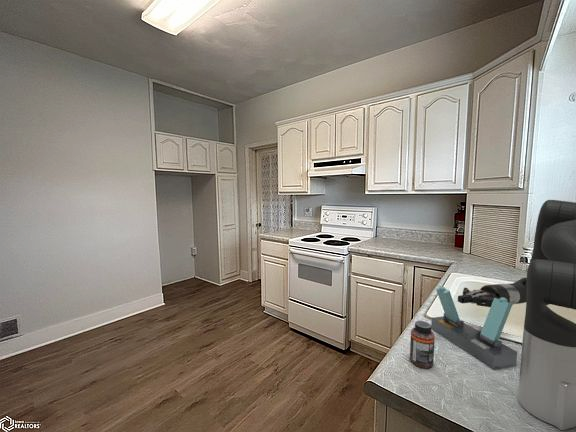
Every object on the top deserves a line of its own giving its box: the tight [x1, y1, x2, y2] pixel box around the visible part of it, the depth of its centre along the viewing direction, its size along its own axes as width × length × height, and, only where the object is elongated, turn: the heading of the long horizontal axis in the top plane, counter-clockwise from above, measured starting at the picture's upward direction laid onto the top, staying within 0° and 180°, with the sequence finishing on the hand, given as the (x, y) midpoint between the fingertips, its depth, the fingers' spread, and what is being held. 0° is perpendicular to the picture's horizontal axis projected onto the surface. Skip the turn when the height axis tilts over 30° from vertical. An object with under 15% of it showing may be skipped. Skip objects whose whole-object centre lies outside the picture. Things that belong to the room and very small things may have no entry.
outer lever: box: [435, 285, 461, 325], centre depth 86 cm, size 4×2×14 cm, turn 13°
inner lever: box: [479, 297, 513, 346], centre depth 75 cm, size 4×2×14 cm, turn 13°
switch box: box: [430, 312, 518, 370], centre depth 81 cm, size 22×8×6 cm, turn 13°
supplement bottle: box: [409, 320, 436, 369], centre depth 72 cm, size 6×6×11 cm
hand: (459, 299), depth 87 cm, fingers closed
